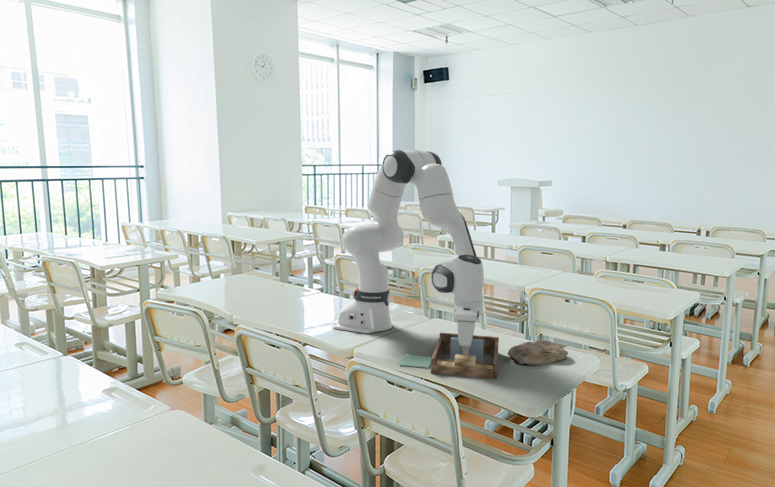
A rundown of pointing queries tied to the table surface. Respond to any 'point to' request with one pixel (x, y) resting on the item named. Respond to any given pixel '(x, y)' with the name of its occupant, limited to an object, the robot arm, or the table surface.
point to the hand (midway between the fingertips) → (466, 350)
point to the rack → (445, 344)
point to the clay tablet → (537, 352)
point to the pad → (416, 361)
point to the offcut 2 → (483, 366)
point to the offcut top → (465, 360)
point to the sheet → (474, 349)
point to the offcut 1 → (445, 363)
